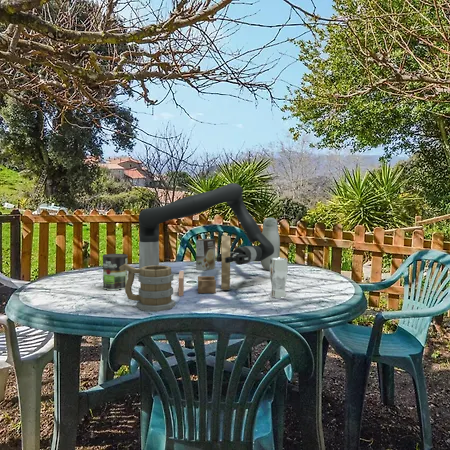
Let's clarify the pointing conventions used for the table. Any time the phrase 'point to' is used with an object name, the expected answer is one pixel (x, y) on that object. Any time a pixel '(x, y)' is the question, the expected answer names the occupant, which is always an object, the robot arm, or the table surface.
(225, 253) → the dowel
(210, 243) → the coffee box
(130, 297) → the tankard
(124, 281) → the coffee can
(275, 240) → the grey water bottle
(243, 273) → the table surface
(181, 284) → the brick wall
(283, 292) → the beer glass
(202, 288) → the cradle
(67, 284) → the table surface
